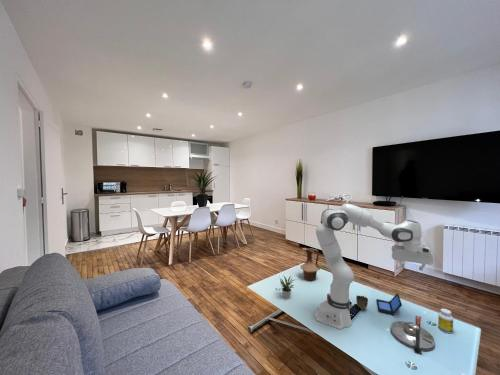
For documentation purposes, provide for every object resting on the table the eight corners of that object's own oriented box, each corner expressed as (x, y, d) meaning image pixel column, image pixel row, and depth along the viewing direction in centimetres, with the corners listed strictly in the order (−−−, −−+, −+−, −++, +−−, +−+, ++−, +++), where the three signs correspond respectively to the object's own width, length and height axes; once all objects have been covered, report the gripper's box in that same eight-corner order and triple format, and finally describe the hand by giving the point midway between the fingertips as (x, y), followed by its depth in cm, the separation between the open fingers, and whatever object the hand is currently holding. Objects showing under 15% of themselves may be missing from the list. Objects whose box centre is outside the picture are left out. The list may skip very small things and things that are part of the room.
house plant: (296, 292, 169) (296, 272, 168) (298, 302, 155) (298, 281, 155) (278, 291, 170) (278, 272, 170) (279, 301, 157) (279, 280, 156)
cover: (401, 331, 121) (401, 322, 121) (406, 326, 125) (406, 318, 125) (415, 338, 115) (415, 329, 115) (420, 333, 119) (421, 325, 119)
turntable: (384, 331, 123) (384, 319, 123) (400, 319, 133) (400, 307, 133) (425, 355, 106) (426, 340, 106) (440, 339, 117) (440, 325, 116)
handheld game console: (376, 300, 156) (376, 288, 156) (397, 305, 150) (398, 292, 150) (378, 312, 142) (378, 299, 142) (402, 318, 136) (402, 304, 136)
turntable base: (394, 344, 115) (394, 343, 115) (387, 321, 133) (387, 320, 133) (441, 356, 107) (441, 355, 107) (427, 330, 125) (427, 329, 125)
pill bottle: (449, 335, 121) (449, 315, 120) (435, 327, 127) (436, 309, 126) (455, 331, 123) (455, 312, 123) (441, 324, 129) (442, 306, 129)
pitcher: (321, 276, 196) (320, 246, 195) (319, 284, 181) (319, 252, 179) (302, 273, 203) (301, 244, 202) (298, 281, 188) (298, 250, 187)
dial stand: (414, 352, 109) (414, 330, 109) (410, 342, 116) (410, 321, 116) (422, 355, 108) (422, 332, 107) (417, 344, 115) (418, 323, 114)
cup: (357, 304, 151) (357, 293, 151) (368, 308, 147) (369, 297, 146) (354, 309, 146) (354, 298, 145) (366, 313, 141) (366, 302, 141)
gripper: (392, 246, 130) (392, 267, 131) (434, 250, 121) (434, 273, 122) (390, 243, 136) (390, 264, 136) (430, 247, 127) (430, 269, 128)
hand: (411, 268), depth 129 cm, fingers open, 8 cm apart
